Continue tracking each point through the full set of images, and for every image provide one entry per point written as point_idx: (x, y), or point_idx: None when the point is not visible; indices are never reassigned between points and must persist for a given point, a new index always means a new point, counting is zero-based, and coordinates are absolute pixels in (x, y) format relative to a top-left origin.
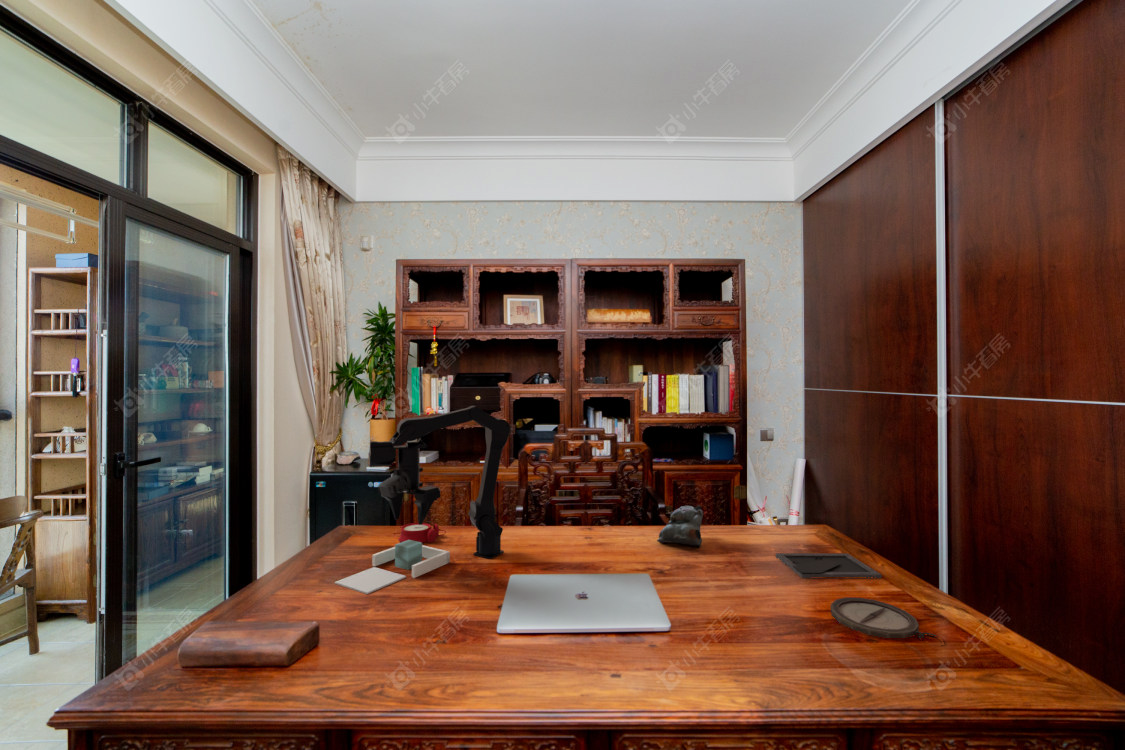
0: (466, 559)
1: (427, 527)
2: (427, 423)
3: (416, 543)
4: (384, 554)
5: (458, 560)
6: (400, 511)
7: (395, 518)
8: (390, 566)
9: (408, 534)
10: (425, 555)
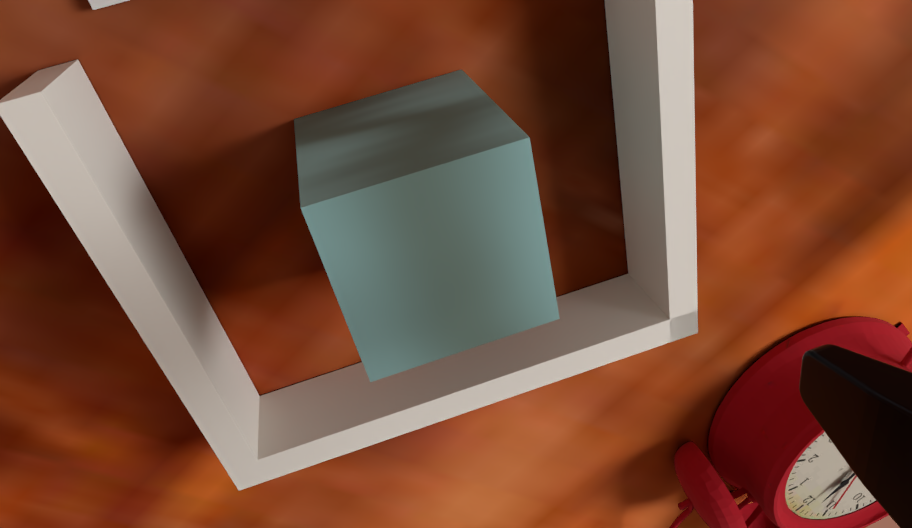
0: (228, 518)
1: (806, 513)
2: None
3: (387, 332)
4: (645, 54)
5: None
6: (889, 514)
7: (824, 356)
8: (491, 37)
9: None
10: None
